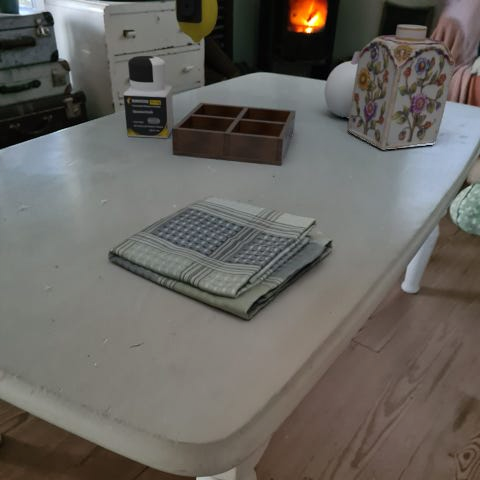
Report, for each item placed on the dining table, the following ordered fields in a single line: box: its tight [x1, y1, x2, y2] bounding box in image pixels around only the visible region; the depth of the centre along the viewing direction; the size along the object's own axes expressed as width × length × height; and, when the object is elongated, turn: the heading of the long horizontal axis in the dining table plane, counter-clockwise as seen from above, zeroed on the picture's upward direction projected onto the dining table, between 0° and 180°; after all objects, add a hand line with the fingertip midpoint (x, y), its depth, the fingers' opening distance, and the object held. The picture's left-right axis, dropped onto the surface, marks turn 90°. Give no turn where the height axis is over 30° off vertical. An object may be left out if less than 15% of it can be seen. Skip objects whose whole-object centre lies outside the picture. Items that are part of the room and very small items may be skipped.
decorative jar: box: [347, 24, 456, 149], centre depth 88 cm, size 12×12×18 cm
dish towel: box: [107, 195, 334, 320], centre depth 55 cm, size 19×18×3 cm
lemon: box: [174, 0, 219, 44], centre depth 68 cm, size 6×6×8 cm
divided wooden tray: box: [171, 102, 296, 166], centre depth 87 cm, size 17×17×4 cm
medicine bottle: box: [123, 55, 175, 139], centre depth 88 cm, size 7×7×12 cm
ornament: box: [324, 51, 361, 118], centre depth 101 cm, size 10×10×12 cm
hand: (196, 18), depth 68 cm, fingers closed on lemon, 5 cm apart
